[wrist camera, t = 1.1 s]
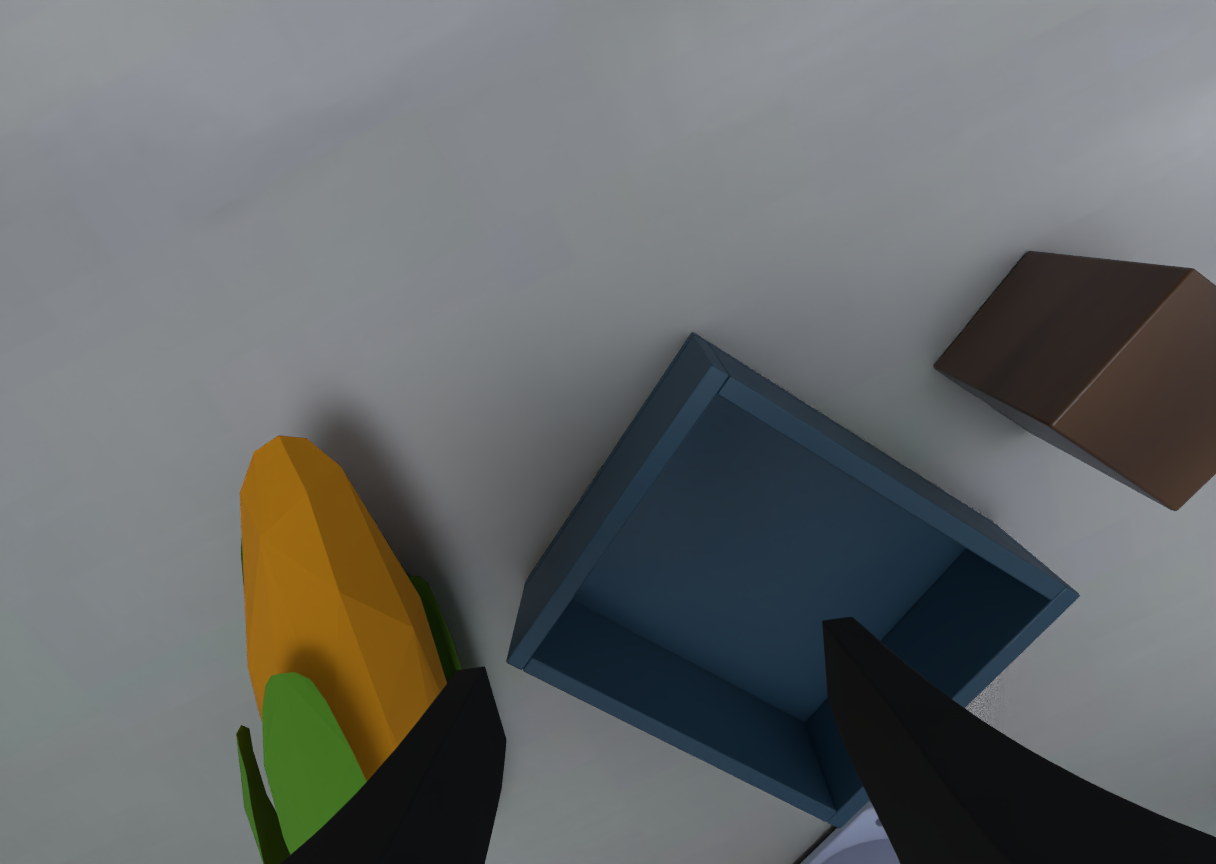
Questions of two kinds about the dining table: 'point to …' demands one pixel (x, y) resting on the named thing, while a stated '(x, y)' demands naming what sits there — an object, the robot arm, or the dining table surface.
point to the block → (1102, 366)
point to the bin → (766, 581)
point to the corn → (326, 643)
